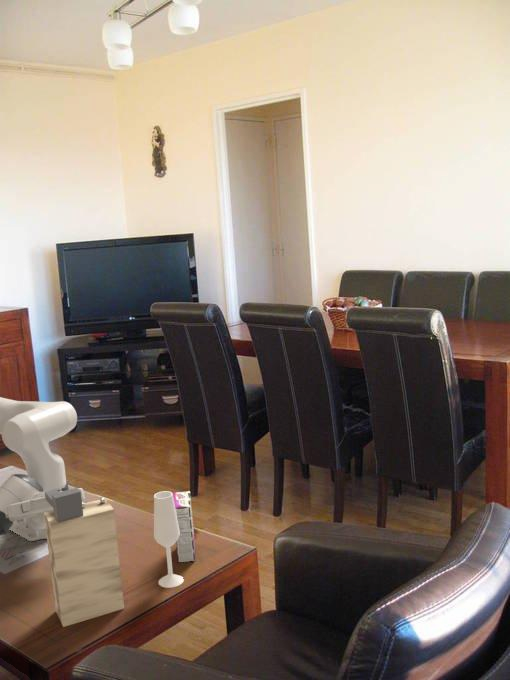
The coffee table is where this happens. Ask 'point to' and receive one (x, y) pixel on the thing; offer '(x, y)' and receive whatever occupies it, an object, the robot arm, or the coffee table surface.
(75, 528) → the pedestal
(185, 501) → the candy bar box
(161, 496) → the champagne flute
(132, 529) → the coffee table surface
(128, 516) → the coffee table surface
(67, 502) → the t handle
